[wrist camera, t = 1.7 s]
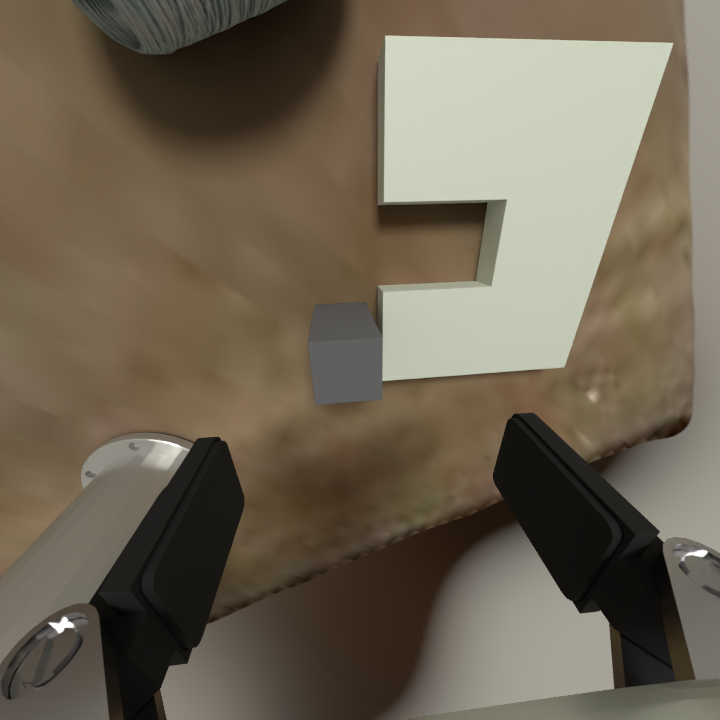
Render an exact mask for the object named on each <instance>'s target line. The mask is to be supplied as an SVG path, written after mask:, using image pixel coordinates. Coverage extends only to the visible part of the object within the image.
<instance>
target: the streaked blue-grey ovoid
mask: <svg viewBox="0 0 720 720" xmlns="http://www.w3.org/2000/svg"><path fill="white" fill-rule="evenodd" d="M71 1H72V2H73V3H74V5H75V6H76V7H77V8H78V9H79V10H80V11H81V12H82V13H83V14H84V15H86V16H87V17H88V18H89V19H90V20H91V21H92V22H93V23H94V24H95V25H96V26H97V27H98V28H100V29H101V30H102V31H103V32H104V33H105V34H107V35H108V36H109V37H110V38H112V39H113V40H114V41H116V42H118V43H120V44H122V45H123V46H125V47H127V48H129V49H131V50H133V51H135V52H137V53H141V54H153V55H157V54H171V53H174V51H175V50H177V49H180V48H182V47H186V46H189V45H192V44H194V43H196V42H198V41H201V40H203V39H205V38H208V37H210V36H212V35H214V34H217V33H219V32H222V31H225V30H227V29H229V28H231V27H233V26H234V25H237V24H239V23H241V22H243V21H245V20H247V19H249V18H252V17H255V16H257V15H260V14H262V13H264V12H266V11H268V10H270V9H272V8H273V7H275V6H277V5H279V4H281V3H283V2H285V1H287V0H71Z"/></svg>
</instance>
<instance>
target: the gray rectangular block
mask: <svg viewBox="0 0 720 720" xmlns="http://www.w3.org/2000/svg"><path fill="white" fill-rule="evenodd" d="M308 347H309V355H310V364H311V372H312V380H313V389H314V397H315V405H322V404H334V403H346V402H359V401H371V400H382V369H383V337H382V335H381V333H380V331H379V329H378V327H377V325H376V323H375V321H374V319H373V317H372V315H371V313H370V311H369V309H368V307H367V305H366V303H365V302H357V303H338V304H319V305H315V308H314V313H313V318H312V324H311V329H310V334H309V339H308Z"/></svg>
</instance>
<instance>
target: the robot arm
mask: <svg viewBox="0 0 720 720" xmlns="http://www.w3.org/2000/svg"><path fill="white" fill-rule="evenodd" d="M493 480H494V483H495V485H496V487H497V488H498V490H499V492H500V493H501V495H502V496H503V498H504V500H505V501H506V503H507V504H508V506H509V508H510V509H511V511H512V513H513V514H514V516H515V517H516V519H517V520H518V522H519V524H520V525H521V527H522V529H523V530H524V532H525V534H526V535H527V537H528V538H529V540H530V542H531V543H532V545H533V546H534V548H535V550H536V551H537V553H538V555H539V556H540V558H541V559H542V561H543V563H544V564H545V566H546V567H547V569H548V571H549V572H550V574H551V576H552V577H553V579H554V580H555V582H556V584H557V585H558V587H559V588H560V590H561V592H562V593H563V594H564V596H565V597H566V598H567V599H569V600H571V601H573V603H574V604H575V606H576V608H577V609H578V611H579V613H588V612H596V611H600V610H601V611H602V613H603V614H604V616H605V617H606V618H607V620H608V621H609V627H610V640H611V652H612V665H613V678H614V689H611V690H604V691H597V692H590V693H582V694H575V695H568V696H561V697H554V698H547V699H540V700H533V701H526V702H518V703H512V704H504V705H498V706H491V707H484V708H477V709H470V710H464V711H456V712H450V713H443V714H436V715H429V716H423V717H416V718H409V719H402V720H720V553H718V552H717V551H715V550H713V549H711V548H709V547H707V546H705V545H703V544H700V543H699V542H695V541H692V540H689V539H686V538H676V537H674V538H669V539H667V540H666V541H665V542H663V541H661V539H659V538H658V537H657V535H658V534H659V532H660V531H659V530H658V529H656V527H655V526H653V525H652V524H651V523H650V522H649V521H648V520H647V519H646V518H645V517H644V516H643V515H642V514H641V513H640V512H639V511H638V510H637V509H635V508H634V507H633V506H632V505H631V504H630V503H629V502H628V501H627V500H626V499H625V498H624V497H623V496H622V495H621V494H620V493H618V492H617V491H616V490H615V489H614V488H613V487H612V486H611V485H610V484H609V483H608V482H607V481H606V480H605V479H604V478H603V477H602V476H600V475H599V474H598V473H597V472H596V471H595V470H594V469H593V468H592V467H591V466H590V465H589V464H588V463H587V462H586V461H585V460H584V459H582V458H581V457H580V456H579V455H578V454H577V453H576V452H575V451H574V450H573V449H572V448H571V447H570V446H569V445H568V444H567V443H565V442H564V441H563V440H562V439H561V438H560V437H559V436H558V435H557V434H556V433H555V432H554V431H553V430H552V429H551V428H550V427H548V426H547V425H546V424H545V423H544V422H543V421H542V420H541V419H540V418H539V417H538V416H537V415H535V414H534V413H520V414H514V415H513V416H512V417H511V419H509V420H508V421H507V424H506V428H505V432H504V435H503V439H502V443H501V446H500V450H499V454H498V457H497V461H496V465H495V468H494V472H493ZM81 483H82V486H83V488H84V490H83V491H82V492H81V493H80V494H79V495H78V496H77V497H76V498H75V499H74V500H73V501H72V502H71V503H70V504H69V505H68V506H67V508H66V509H65V510H64V511H63V512H62V513H61V514H60V515H59V516H58V517H57V518H56V519H55V520H54V521H53V522H52V523H51V524H50V526H49V527H48V528H47V529H46V530H45V531H44V532H43V533H42V534H41V535H40V536H39V537H38V538H37V539H36V540H35V541H34V542H33V543H32V545H31V546H30V547H29V548H28V549H27V550H26V551H25V552H24V553H23V554H22V555H21V556H20V557H19V558H18V559H17V560H16V561H15V563H14V564H13V565H12V566H11V567H10V568H9V569H8V570H7V571H6V572H5V573H4V574H3V575H2V576H1V577H0V720H167V719H166V715H165V710H164V706H163V701H162V696H161V692H160V688H161V685H162V683H163V680H164V677H165V675H166V672H167V670H168V667H169V666H171V665H179V664H187V663H188V660H189V657H190V654H191V651H192V648H194V647H197V646H198V644H199V643H200V641H201V639H202V636H203V633H204V630H205V627H206V624H207V621H208V618H209V614H210V611H211V608H212V605H213V602H214V599H215V596H216V593H217V590H218V586H219V583H220V580H221V577H222V574H223V571H224V568H225V565H226V561H227V558H228V555H229V552H230V549H231V546H232V543H233V540H234V537H235V533H236V530H237V527H238V524H239V521H240V518H241V515H242V512H243V508H244V495H243V492H242V488H241V485H240V482H239V479H238V476H237V473H236V470H235V467H234V464H233V461H232V458H231V455H230V451H229V448H228V445H227V443H226V442H225V441H221V439H220V438H219V437H208V438H199V439H197V440H196V441H195V443H194V444H193V443H191V442H189V441H187V440H184V439H181V438H178V437H175V436H170V435H166V434H159V433H148V432H147V433H132V434H127V435H122V436H118V437H116V438H113V439H111V440H108V441H107V442H105V443H104V444H102V445H101V446H99V447H98V448H97V449H96V450H95V451H94V452H93V453H92V454H91V455H90V456H89V457H88V458H87V460H86V461H85V463H84V464H83V467H82V470H81Z"/></svg>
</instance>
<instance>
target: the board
mask: <svg viewBox="0 0 720 720" xmlns="http://www.w3.org/2000/svg"><path fill="white" fill-rule="evenodd" d="M672 46H673V43H651V42H612V41H573V40H534V39H495V38H456V37H417V36H385V39H384V42H383V46H382V49H381V53H380V56H379V60H378V205H412V204H453V203H487V210H486V216H485V223H484V229H483V236H482V243H481V249H480V256H479V262H478V269H477V275H476V281H466V282H445V283H424V284H404V285H383V286H378V329H379V331H380V333H381V335H382V337H383V369H382V381H389V380H403V379H416V378H429V377H442V376H455V375H469V374H482V373H495V372H508V371H521V370H535V369H548V368H561V367H565V364H566V361H567V358H568V355H569V352H570V349H571V346H572V343H573V340H574V337H575V334H576V331H577V328H578V325H579V322H580V319H581V316H582V313H583V310H584V307H585V304H586V302H587V299H588V296H589V293H590V290H591V287H592V284H593V281H594V278H595V275H596V272H597V269H598V266H599V263H600V260H601V257H602V254H603V251H604V248H605V245H606V242H607V239H608V236H609V233H610V230H611V227H612V224H613V221H614V218H615V215H616V212H617V209H618V206H619V204H620V201H621V198H622V195H623V192H624V189H625V186H626V183H627V180H628V177H629V174H630V171H631V168H632V165H633V162H634V159H635V156H636V153H637V150H638V147H639V144H640V141H641V138H642V135H643V132H644V129H645V126H646V123H647V120H648V117H649V114H650V111H651V108H652V106H653V103H654V100H655V97H656V94H657V91H658V88H659V85H660V82H661V79H662V76H663V73H664V70H665V67H666V64H667V61H668V58H669V55H670V52H671V49H672Z"/></svg>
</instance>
